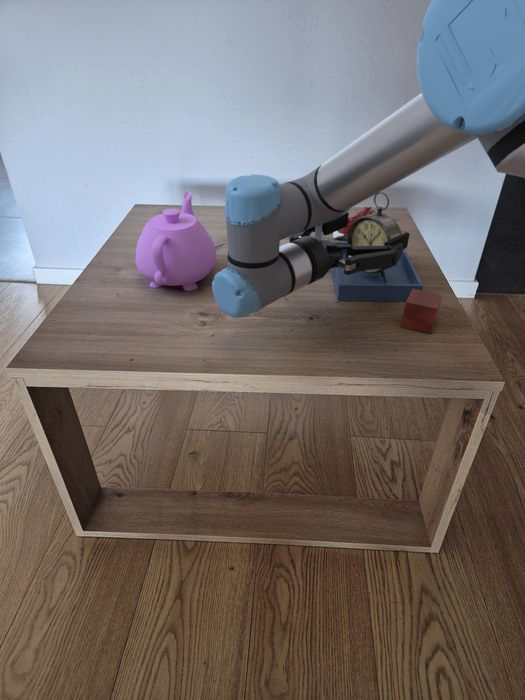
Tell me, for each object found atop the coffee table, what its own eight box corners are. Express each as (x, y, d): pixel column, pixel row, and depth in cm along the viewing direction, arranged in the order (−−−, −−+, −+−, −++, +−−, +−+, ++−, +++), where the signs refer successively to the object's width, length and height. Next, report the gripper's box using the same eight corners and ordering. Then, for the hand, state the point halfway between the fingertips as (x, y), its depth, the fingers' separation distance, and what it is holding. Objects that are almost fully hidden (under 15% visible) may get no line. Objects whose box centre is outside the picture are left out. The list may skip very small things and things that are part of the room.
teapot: (161, 249, 110) (153, 187, 102) (230, 254, 108) (227, 191, 100) (122, 299, 92) (108, 229, 84) (202, 306, 90) (196, 235, 82)
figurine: (309, 244, 112) (311, 216, 108) (309, 224, 121) (310, 197, 117) (377, 246, 111) (381, 217, 107) (371, 226, 120) (375, 199, 116)
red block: (436, 319, 86) (442, 294, 83) (430, 334, 83) (436, 308, 80) (407, 313, 88) (412, 288, 85) (400, 327, 85) (405, 301, 82)
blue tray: (420, 301, 91) (423, 285, 89) (337, 300, 92) (339, 285, 90) (399, 255, 107) (401, 241, 105) (328, 255, 107) (329, 241, 105)
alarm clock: (342, 267, 101) (350, 187, 91) (360, 259, 104) (370, 181, 94) (383, 287, 94) (397, 203, 84) (402, 279, 97) (417, 197, 87)
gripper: (246, 261, 90) (323, 229, 102) (355, 313, 76) (430, 269, 88) (245, 221, 86) (325, 192, 98) (361, 269, 71) (439, 228, 83)
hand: (375, 228), depth 93 cm, fingers open, 13 cm apart
